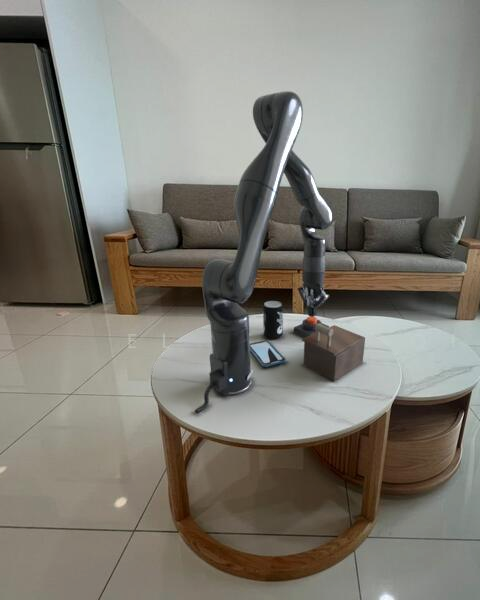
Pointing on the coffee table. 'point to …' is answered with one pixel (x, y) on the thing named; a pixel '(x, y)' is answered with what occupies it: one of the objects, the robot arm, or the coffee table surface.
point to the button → (311, 320)
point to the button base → (307, 328)
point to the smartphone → (266, 353)
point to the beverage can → (273, 320)
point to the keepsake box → (333, 360)
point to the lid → (333, 339)
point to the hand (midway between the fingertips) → (312, 315)
